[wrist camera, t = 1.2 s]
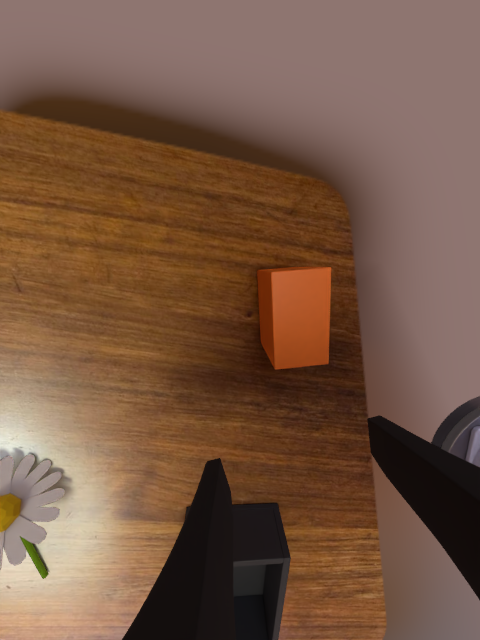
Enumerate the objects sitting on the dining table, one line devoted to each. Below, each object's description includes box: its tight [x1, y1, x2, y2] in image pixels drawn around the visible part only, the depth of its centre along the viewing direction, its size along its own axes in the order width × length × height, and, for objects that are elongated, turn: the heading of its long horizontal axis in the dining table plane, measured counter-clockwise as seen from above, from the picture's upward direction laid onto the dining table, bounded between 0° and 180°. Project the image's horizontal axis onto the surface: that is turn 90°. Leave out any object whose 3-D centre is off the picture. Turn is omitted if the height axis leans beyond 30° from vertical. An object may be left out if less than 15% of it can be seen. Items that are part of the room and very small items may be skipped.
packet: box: [257, 267, 331, 370], centre depth 16 cm, size 4×6×5 cm, turn 4°
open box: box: [185, 503, 291, 640], centre depth 22 cm, size 9×13×4 cm
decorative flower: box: [0, 454, 65, 579], centre depth 19 cm, size 8×6×15 cm
